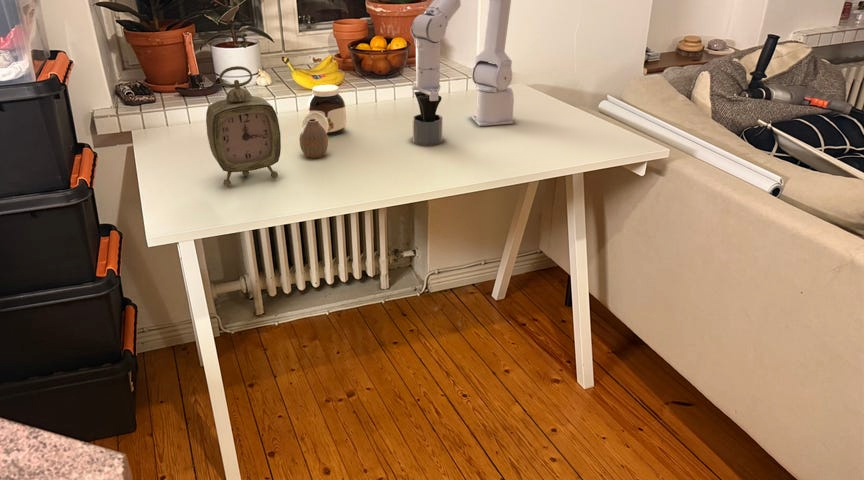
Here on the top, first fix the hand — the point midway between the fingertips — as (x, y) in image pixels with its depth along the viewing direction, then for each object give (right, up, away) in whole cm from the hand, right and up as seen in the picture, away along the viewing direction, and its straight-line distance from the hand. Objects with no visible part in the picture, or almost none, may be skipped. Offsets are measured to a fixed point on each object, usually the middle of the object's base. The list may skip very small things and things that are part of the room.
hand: (427, 122), depth 176 cm
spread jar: (-27, -1, +10) cm, 28 cm away
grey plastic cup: (0, -4, +2) cm, 5 cm away
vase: (-28, -9, -5) cm, 30 cm away
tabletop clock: (-42, -17, -17) cm, 48 cm away
